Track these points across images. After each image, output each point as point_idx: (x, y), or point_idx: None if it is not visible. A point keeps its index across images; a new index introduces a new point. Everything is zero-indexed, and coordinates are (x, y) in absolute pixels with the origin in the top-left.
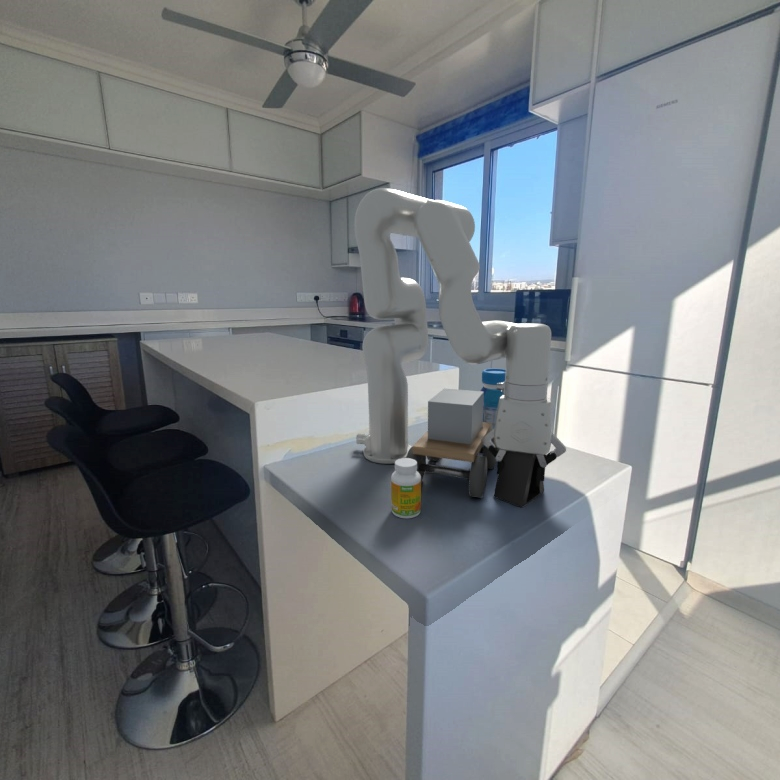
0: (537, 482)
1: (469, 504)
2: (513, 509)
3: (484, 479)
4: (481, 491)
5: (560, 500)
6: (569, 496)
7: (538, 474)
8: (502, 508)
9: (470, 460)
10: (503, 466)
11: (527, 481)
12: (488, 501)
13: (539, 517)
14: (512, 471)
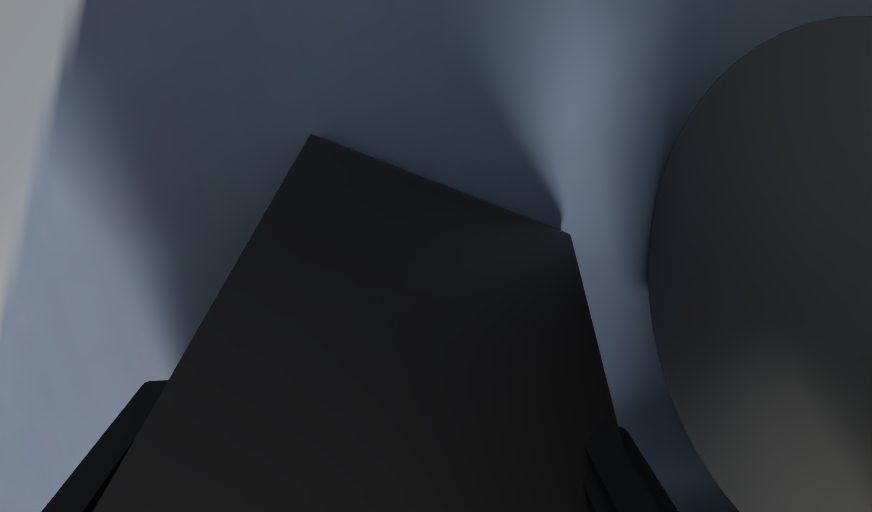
0: (150, 403)
1: (759, 22)
2: (376, 85)
3: (716, 331)
4: (707, 165)
5: (61, 384)
6: (21, 463)
7: (85, 485)
8: (470, 65)
9: None
10: (595, 494)
11: (216, 299)
12: (599, 146)
13: (129, 24)
14: (450, 429)
